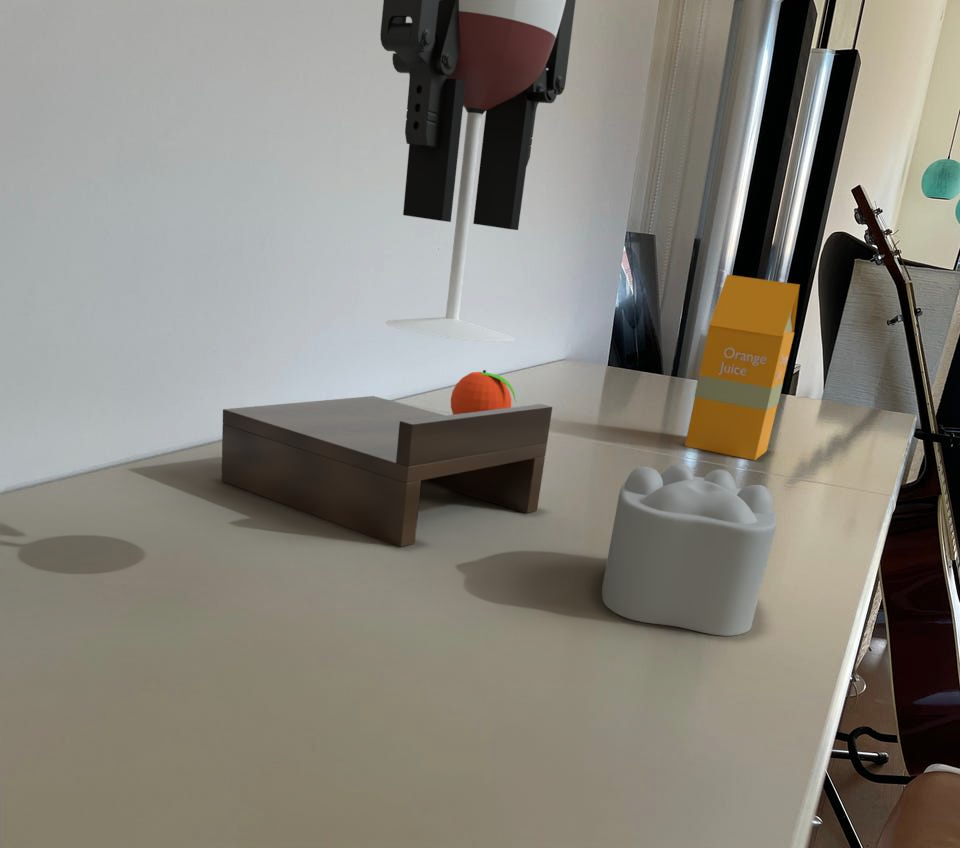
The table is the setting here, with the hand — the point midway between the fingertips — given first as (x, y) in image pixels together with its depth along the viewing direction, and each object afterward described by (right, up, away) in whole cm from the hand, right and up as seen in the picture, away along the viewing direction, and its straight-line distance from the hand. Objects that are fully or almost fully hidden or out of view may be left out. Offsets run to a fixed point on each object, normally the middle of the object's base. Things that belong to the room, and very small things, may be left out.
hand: (462, 222), depth 55 cm
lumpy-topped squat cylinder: (+15, -20, +15) cm, 29 cm away
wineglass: (-1, -5, +2) cm, 6 cm away
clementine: (+1, 0, +59) cm, 59 cm away
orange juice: (+32, +1, +69) cm, 76 cm away
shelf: (-7, -11, +30) cm, 32 cm away
